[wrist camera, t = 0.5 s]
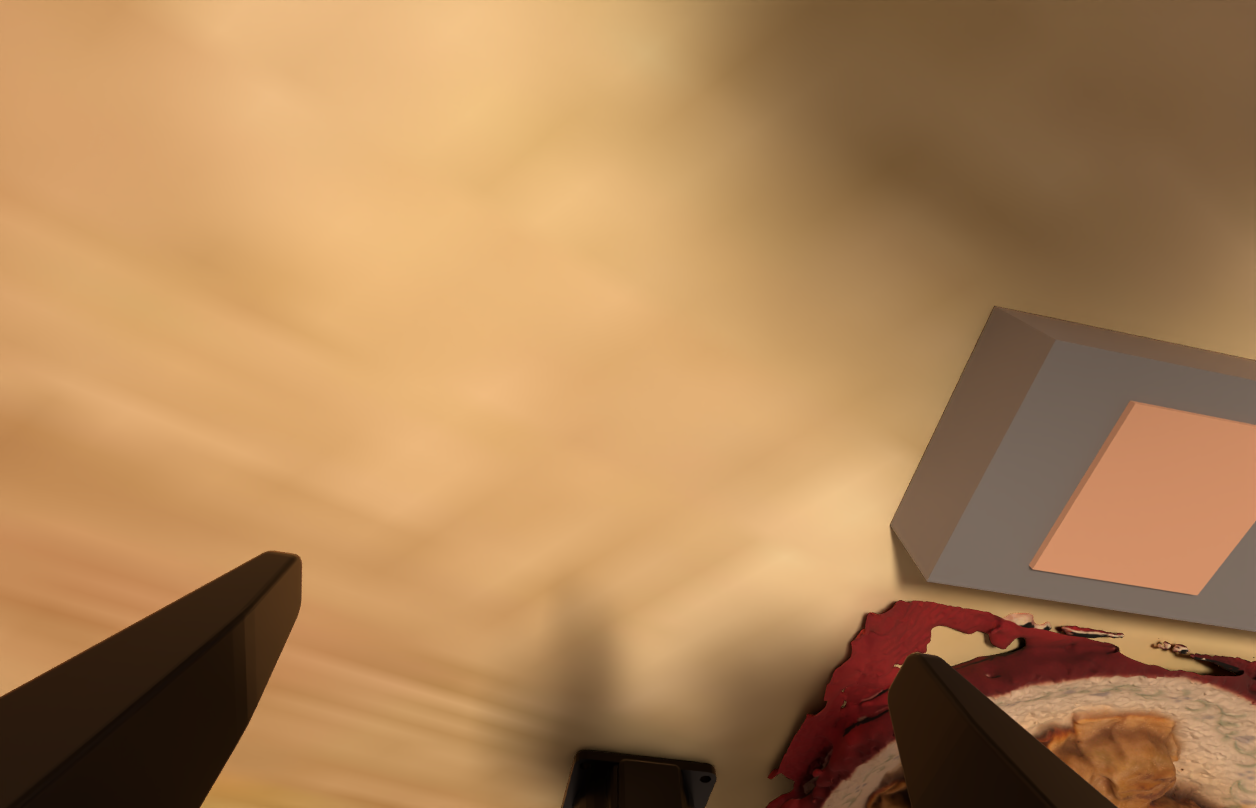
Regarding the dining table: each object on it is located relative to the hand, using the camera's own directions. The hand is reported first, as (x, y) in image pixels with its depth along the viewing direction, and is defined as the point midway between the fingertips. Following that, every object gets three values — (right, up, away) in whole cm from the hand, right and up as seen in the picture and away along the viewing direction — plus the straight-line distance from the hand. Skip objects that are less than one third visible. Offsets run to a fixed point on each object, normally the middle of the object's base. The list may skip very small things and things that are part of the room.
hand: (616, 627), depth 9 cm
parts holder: (+22, 0, +14) cm, 26 cm away
